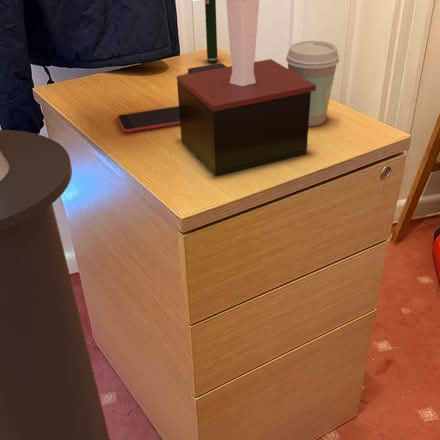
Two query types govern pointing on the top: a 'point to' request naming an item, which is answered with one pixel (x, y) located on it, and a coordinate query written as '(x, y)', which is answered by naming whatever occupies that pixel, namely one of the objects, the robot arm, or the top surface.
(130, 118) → the smartphone
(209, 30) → the flashlight
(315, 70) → the coffee cup
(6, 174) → the robot arm
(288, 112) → the box
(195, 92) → the box lid
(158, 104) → the top surface
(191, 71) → the phone
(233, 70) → the white pentagonal vase
